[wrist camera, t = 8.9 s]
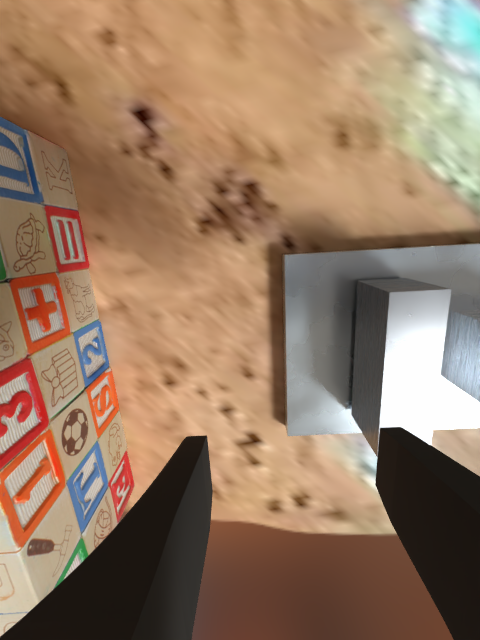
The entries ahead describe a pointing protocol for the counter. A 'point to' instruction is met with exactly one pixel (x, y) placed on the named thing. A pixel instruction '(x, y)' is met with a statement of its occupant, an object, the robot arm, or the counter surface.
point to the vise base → (340, 320)
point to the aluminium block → (464, 352)
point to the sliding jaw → (398, 355)
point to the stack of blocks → (50, 383)
